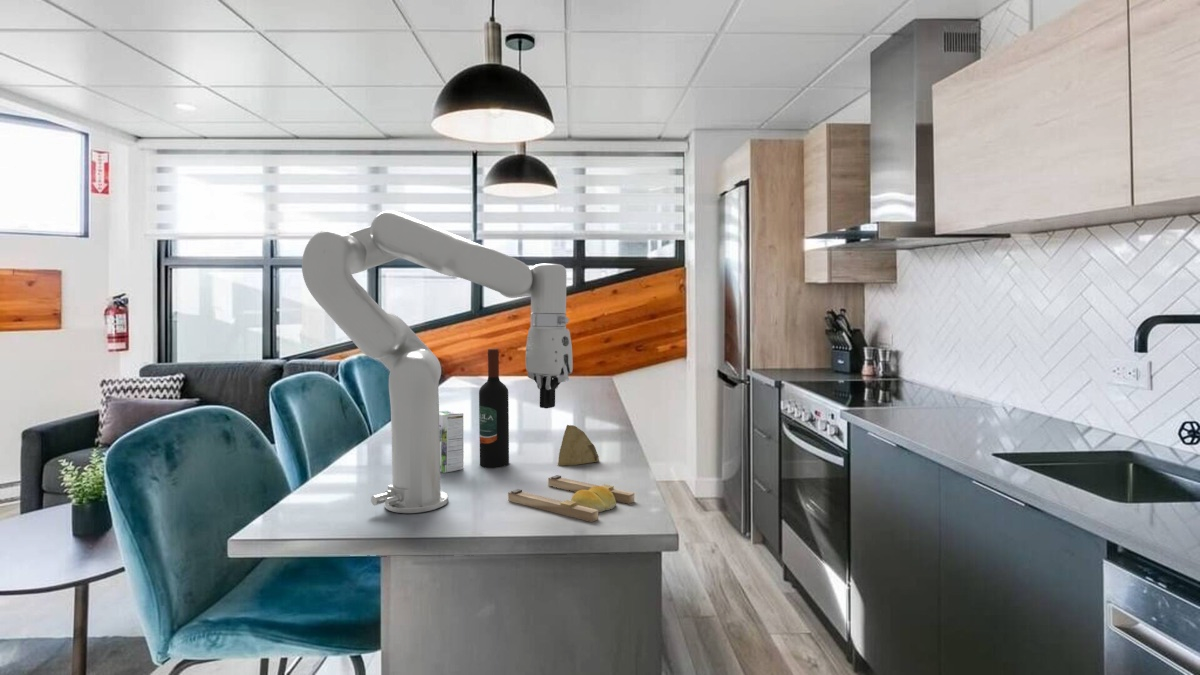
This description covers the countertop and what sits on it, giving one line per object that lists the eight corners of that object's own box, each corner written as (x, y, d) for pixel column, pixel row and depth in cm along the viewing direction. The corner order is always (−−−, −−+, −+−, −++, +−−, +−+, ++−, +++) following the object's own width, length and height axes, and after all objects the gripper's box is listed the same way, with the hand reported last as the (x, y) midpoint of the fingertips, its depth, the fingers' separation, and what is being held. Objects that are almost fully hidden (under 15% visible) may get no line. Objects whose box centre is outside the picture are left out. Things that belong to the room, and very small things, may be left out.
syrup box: (433, 468, 153) (432, 412, 152) (454, 464, 156) (453, 409, 156) (443, 473, 148) (442, 415, 147) (464, 469, 152) (464, 412, 151)
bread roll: (564, 506, 124) (564, 486, 124) (601, 498, 129) (601, 480, 129) (584, 517, 117) (584, 497, 117) (622, 509, 122) (622, 490, 122)
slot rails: (591, 522, 114) (591, 510, 114) (508, 500, 127) (508, 490, 127) (634, 501, 127) (634, 490, 126) (554, 483, 139) (554, 473, 139)
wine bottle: (512, 466, 155) (511, 350, 153) (482, 469, 152) (481, 350, 151) (505, 459, 162) (504, 348, 160) (477, 462, 159) (475, 348, 158)
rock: (605, 449, 163) (570, 442, 166) (603, 429, 157) (567, 421, 160) (592, 482, 155) (556, 474, 158) (590, 461, 150) (552, 453, 152)
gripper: (586, 322, 127) (585, 409, 128) (534, 321, 136) (533, 401, 137) (563, 323, 121) (562, 413, 122) (510, 321, 130) (510, 405, 131)
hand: (547, 407), depth 129 cm, fingers closed
